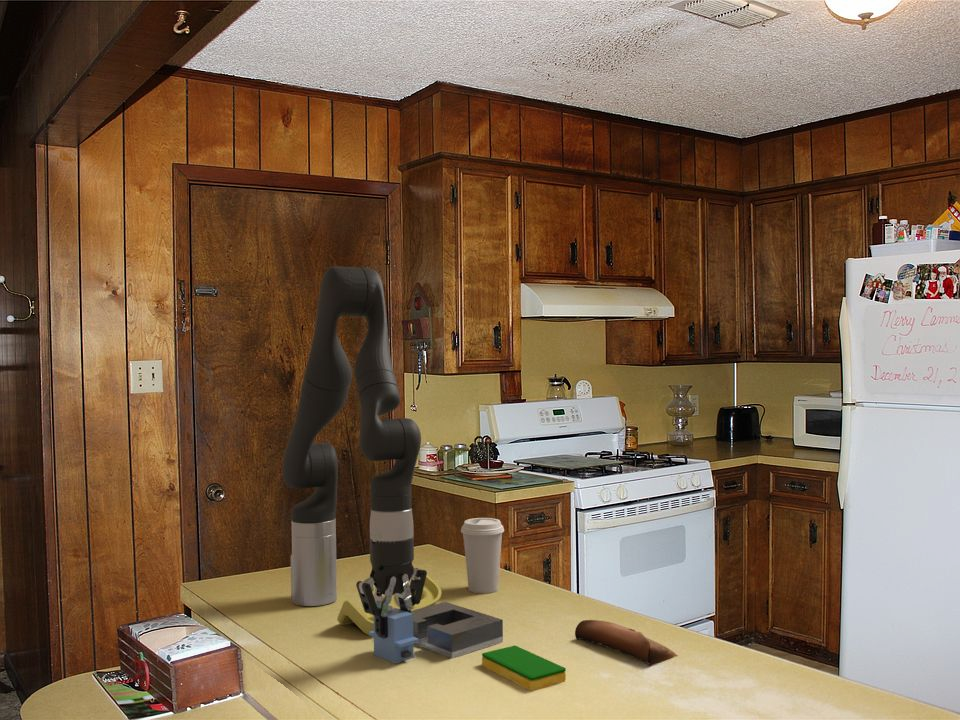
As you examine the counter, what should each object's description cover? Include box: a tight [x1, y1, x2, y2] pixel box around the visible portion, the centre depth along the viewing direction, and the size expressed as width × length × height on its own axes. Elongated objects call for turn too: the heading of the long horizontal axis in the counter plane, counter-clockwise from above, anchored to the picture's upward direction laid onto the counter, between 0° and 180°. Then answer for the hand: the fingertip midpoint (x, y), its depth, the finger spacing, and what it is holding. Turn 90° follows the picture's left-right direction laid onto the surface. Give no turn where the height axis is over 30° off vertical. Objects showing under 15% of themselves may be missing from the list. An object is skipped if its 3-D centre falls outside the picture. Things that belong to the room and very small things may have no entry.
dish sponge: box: [481, 645, 567, 691], centre depth 143 cm, size 7×14×2 cm, turn 34°
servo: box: [368, 605, 419, 664], centre depth 151 cm, size 4×9×8 cm, turn 42°
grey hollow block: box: [411, 601, 504, 659], centre depth 160 cm, size 16×12×4 cm
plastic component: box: [336, 574, 442, 636], centre depth 172 cm, size 20×7×10 cm
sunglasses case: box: [574, 619, 679, 666], centre depth 154 cm, size 18×7×7 cm
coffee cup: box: [460, 517, 505, 594], centre depth 193 cm, size 10×10×15 cm
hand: (393, 633), depth 151 cm, fingers closed on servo, 4 cm apart
